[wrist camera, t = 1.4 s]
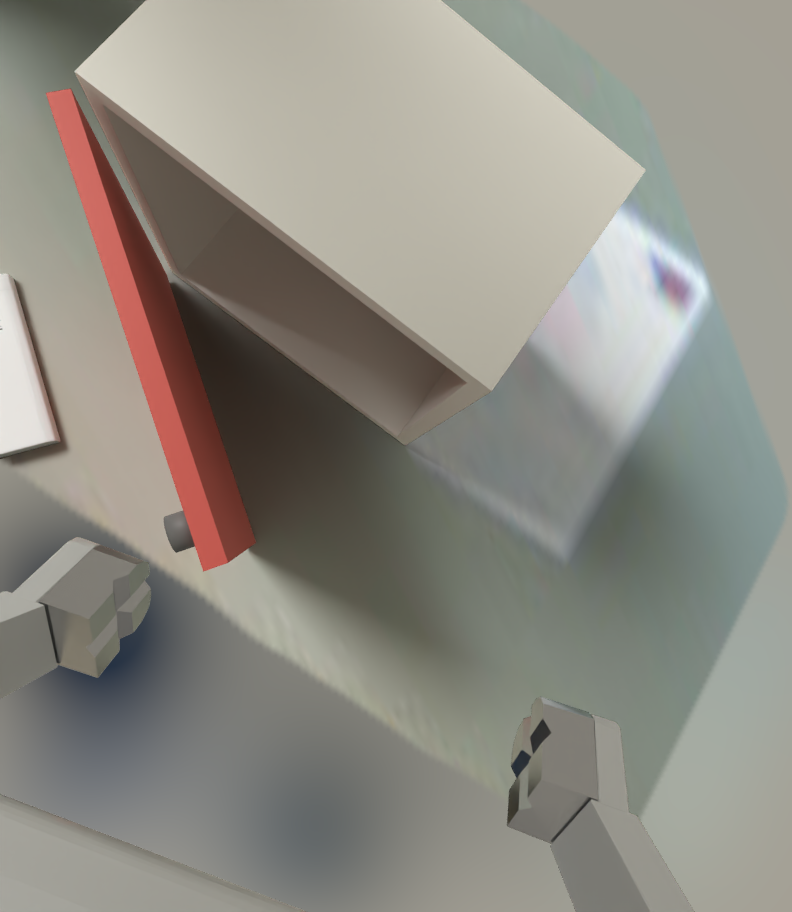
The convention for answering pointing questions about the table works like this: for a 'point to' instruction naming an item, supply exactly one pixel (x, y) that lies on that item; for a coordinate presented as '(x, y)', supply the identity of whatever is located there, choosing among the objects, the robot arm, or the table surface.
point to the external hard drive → (20, 381)
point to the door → (158, 353)
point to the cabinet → (357, 186)
